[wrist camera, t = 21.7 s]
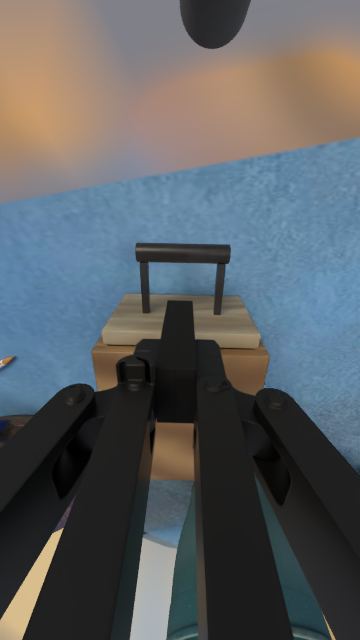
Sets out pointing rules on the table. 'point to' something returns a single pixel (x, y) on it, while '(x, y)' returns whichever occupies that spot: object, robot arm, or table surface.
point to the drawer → (209, 311)
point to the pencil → (5, 361)
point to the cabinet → (177, 438)
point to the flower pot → (296, 590)
